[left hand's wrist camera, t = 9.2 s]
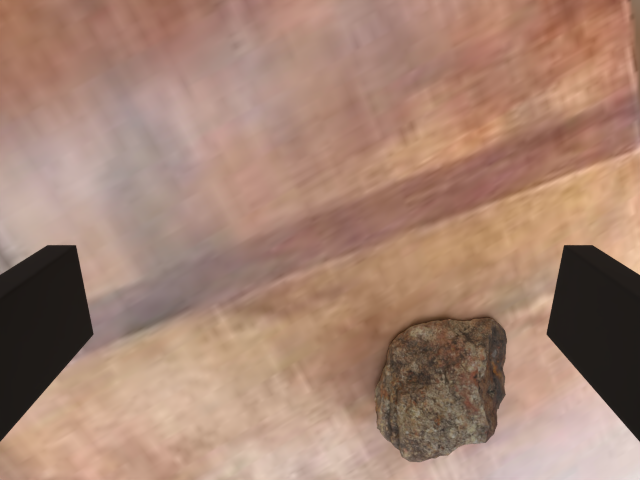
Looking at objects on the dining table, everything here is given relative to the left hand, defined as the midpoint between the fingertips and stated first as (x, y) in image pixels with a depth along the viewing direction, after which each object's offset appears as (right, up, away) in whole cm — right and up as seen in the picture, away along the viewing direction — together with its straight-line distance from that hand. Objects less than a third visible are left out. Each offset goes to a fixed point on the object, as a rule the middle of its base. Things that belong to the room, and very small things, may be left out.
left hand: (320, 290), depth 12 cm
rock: (+12, -11, +34) cm, 38 cm away
